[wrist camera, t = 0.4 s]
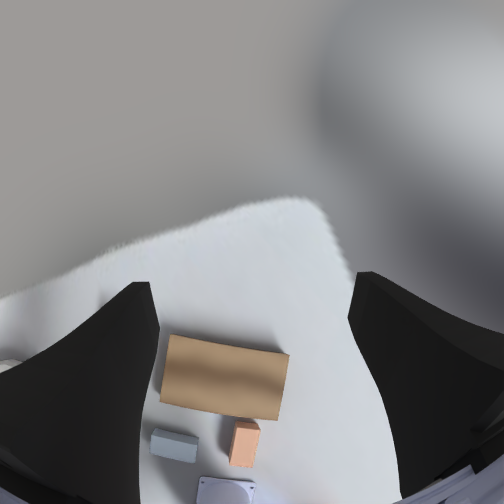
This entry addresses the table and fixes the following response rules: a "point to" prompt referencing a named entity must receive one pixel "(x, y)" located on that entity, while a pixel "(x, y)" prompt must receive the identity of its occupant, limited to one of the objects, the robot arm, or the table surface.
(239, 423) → the terracotta brick
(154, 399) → the table surface
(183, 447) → the slate brick
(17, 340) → the table surface
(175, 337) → the walnut slab
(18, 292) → the table surface
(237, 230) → the table surface
